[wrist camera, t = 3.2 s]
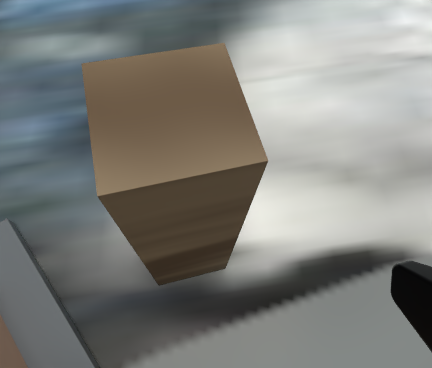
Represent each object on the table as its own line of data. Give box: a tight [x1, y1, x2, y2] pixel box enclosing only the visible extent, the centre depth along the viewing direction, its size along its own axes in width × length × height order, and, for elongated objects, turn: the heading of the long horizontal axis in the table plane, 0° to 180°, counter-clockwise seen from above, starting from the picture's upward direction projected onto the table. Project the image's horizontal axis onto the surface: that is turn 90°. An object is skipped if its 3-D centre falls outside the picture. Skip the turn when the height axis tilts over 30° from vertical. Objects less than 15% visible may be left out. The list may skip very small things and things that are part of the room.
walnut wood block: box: [82, 43, 268, 285], centre depth 14 cm, size 4×4×13 cm
